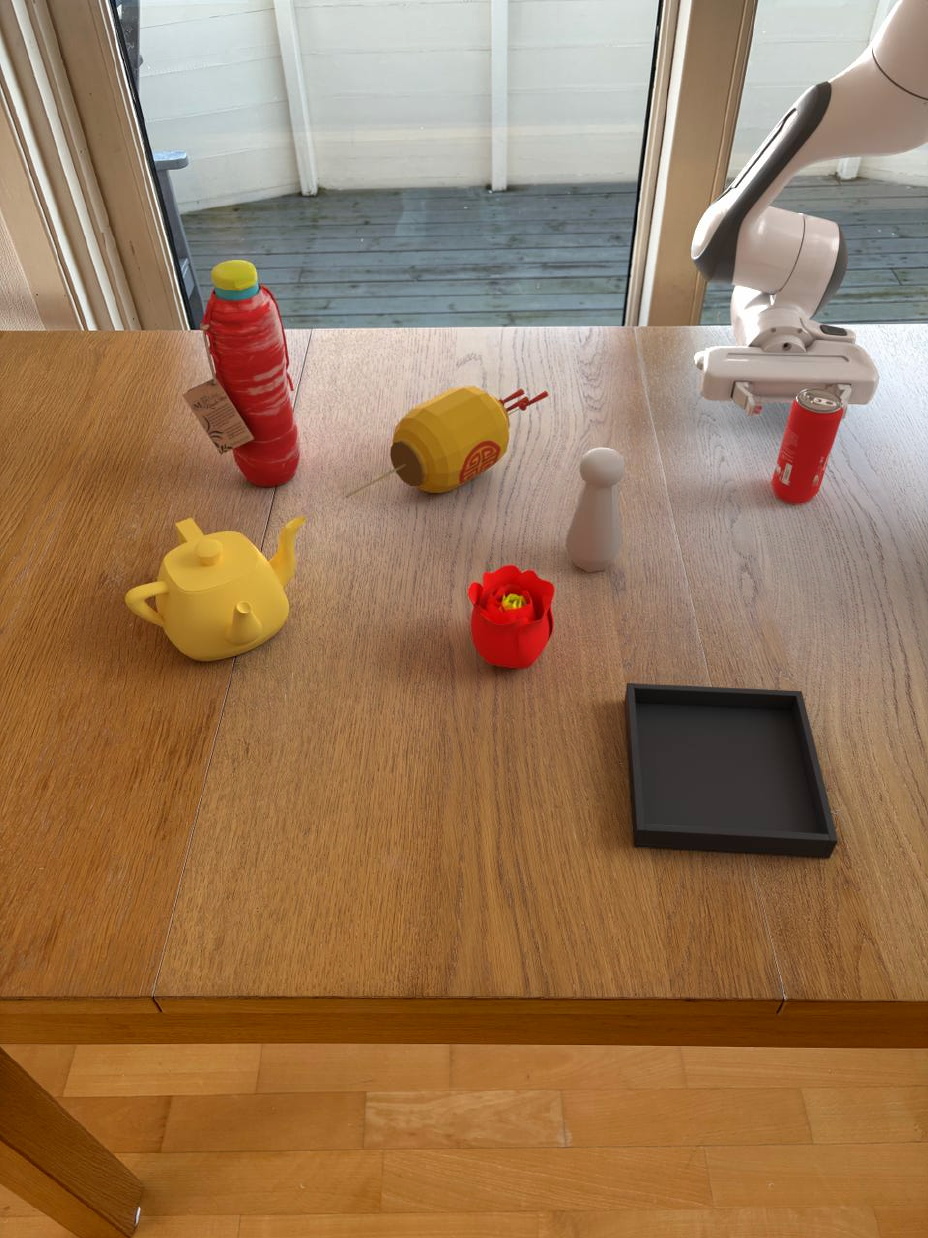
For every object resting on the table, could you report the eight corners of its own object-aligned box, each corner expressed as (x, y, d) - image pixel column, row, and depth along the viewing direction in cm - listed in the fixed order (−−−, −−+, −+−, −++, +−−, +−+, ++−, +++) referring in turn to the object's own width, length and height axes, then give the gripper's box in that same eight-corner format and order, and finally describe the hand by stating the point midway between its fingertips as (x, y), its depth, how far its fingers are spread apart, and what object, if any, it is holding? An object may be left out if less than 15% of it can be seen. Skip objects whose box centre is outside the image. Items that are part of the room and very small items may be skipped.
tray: (795, 709, 85) (802, 690, 83) (829, 858, 74) (838, 841, 72) (624, 701, 86) (627, 682, 84) (633, 847, 75) (637, 829, 73)
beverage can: (775, 474, 110) (800, 382, 102) (820, 486, 108) (849, 393, 100) (764, 499, 107) (789, 406, 98) (811, 511, 105) (840, 417, 97)
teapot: (265, 687, 87) (247, 609, 80) (133, 661, 90) (105, 583, 83) (318, 588, 97) (307, 511, 90) (198, 567, 99) (177, 491, 92)
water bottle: (235, 516, 105) (186, 303, 88) (198, 484, 110) (144, 275, 92) (323, 473, 111) (294, 265, 93) (285, 444, 115) (250, 240, 98)
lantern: (519, 334, 112) (319, 434, 97) (579, 380, 109) (381, 492, 94) (504, 399, 120) (316, 501, 105) (559, 444, 117) (373, 556, 102)
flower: (458, 636, 92) (456, 574, 86) (530, 615, 94) (534, 553, 88) (489, 693, 86) (490, 631, 81) (566, 669, 88) (572, 607, 83)
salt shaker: (626, 574, 98) (641, 470, 89) (572, 581, 97) (582, 476, 88) (610, 538, 102) (624, 436, 93) (558, 545, 101) (566, 442, 92)
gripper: (696, 326, 116) (709, 385, 106) (867, 330, 115) (896, 390, 105) (688, 372, 120) (700, 433, 111) (853, 376, 119) (879, 438, 109)
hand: (797, 412), depth 108 cm, fingers open, 8 cm apart
